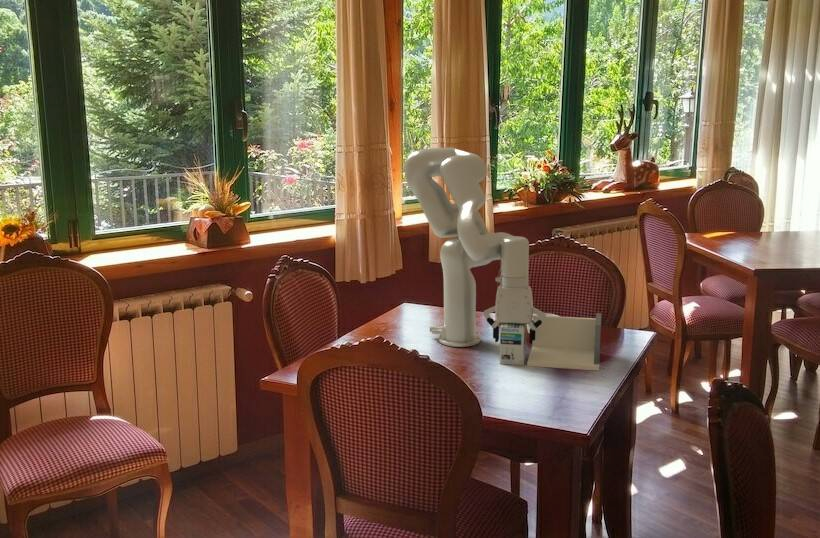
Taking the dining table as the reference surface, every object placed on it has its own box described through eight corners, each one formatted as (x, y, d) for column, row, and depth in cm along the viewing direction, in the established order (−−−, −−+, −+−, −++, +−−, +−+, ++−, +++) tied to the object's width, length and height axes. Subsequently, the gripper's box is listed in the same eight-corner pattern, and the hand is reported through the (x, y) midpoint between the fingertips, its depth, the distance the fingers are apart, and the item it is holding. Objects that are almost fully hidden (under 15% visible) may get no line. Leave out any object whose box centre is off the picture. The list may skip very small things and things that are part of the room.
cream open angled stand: (527, 365, 217) (528, 329, 215) (532, 348, 231) (533, 315, 229) (598, 370, 213) (600, 334, 211) (599, 353, 227) (601, 318, 225)
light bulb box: (523, 366, 217) (524, 328, 215) (499, 364, 219) (499, 326, 216) (526, 353, 228) (527, 317, 225) (502, 352, 229) (503, 316, 227)
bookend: (593, 364, 214) (595, 324, 212) (594, 350, 226) (596, 313, 223) (599, 364, 214) (600, 325, 212) (599, 350, 225) (601, 313, 223)
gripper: (481, 283, 217) (481, 344, 220) (545, 286, 213) (544, 347, 216) (485, 277, 224) (485, 336, 227) (547, 279, 220) (546, 339, 223)
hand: (514, 341), depth 222 cm, fingers open, 9 cm apart
